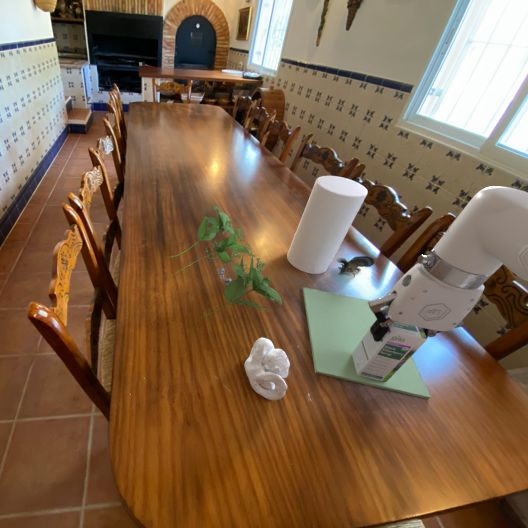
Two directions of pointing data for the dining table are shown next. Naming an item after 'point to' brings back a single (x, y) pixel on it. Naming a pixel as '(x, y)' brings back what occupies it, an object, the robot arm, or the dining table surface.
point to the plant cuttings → (236, 286)
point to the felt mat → (350, 341)
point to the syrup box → (387, 351)
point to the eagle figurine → (355, 264)
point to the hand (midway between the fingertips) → (392, 338)
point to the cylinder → (325, 223)
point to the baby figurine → (267, 369)
